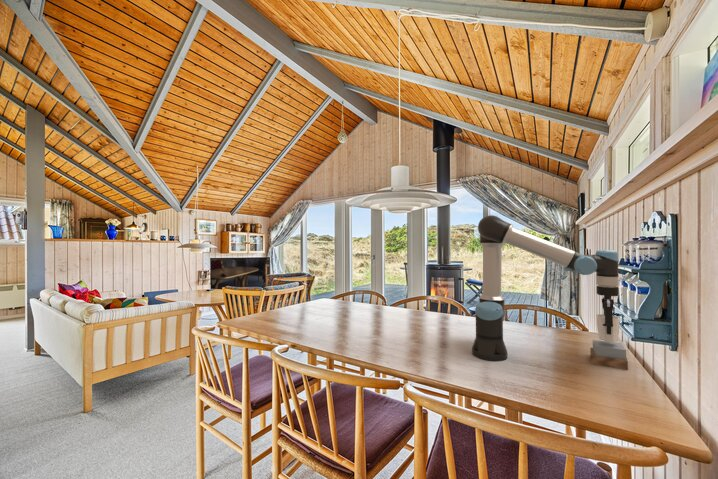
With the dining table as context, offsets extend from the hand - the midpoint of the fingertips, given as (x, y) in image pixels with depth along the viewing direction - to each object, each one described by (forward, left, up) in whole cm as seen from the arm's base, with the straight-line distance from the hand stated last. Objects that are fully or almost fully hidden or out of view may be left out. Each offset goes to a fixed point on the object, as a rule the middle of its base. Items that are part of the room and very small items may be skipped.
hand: (608, 339), depth 135 cm
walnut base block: (0, 0, -10) cm, 10 cm away
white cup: (0, 0, 0) cm, 0 cm away
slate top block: (0, 0, -6) cm, 6 cm away
